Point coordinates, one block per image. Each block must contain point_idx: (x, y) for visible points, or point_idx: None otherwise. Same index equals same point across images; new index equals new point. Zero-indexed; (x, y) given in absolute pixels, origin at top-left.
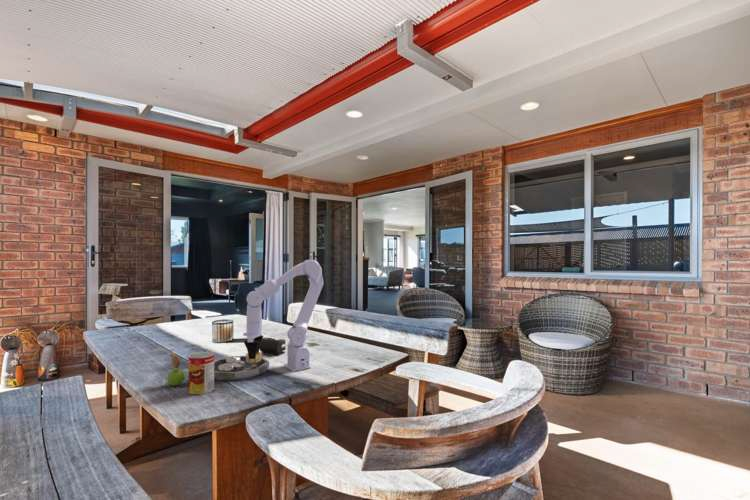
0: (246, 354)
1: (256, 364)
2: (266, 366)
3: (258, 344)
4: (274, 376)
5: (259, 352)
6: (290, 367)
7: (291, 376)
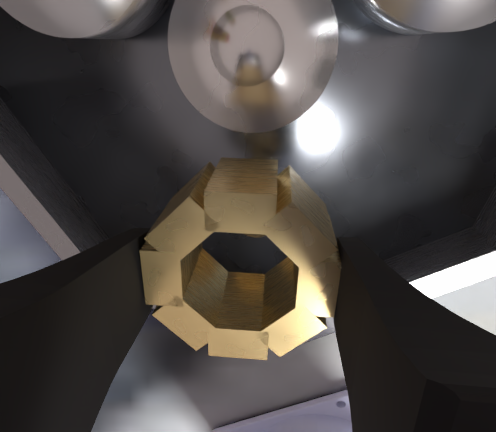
0: (187, 198)
1: (385, 211)
2: None
3: (357, 416)
4: None
5: (287, 341)
6: (269, 427)
7: (125, 415)
